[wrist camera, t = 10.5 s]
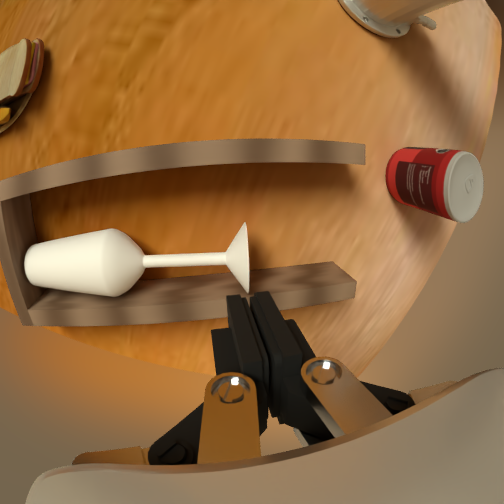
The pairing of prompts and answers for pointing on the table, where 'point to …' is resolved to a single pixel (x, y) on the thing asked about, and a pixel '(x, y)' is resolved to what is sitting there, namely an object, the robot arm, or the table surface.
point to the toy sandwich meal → (19, 78)
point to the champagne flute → (117, 262)
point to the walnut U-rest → (169, 289)
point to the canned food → (436, 181)
